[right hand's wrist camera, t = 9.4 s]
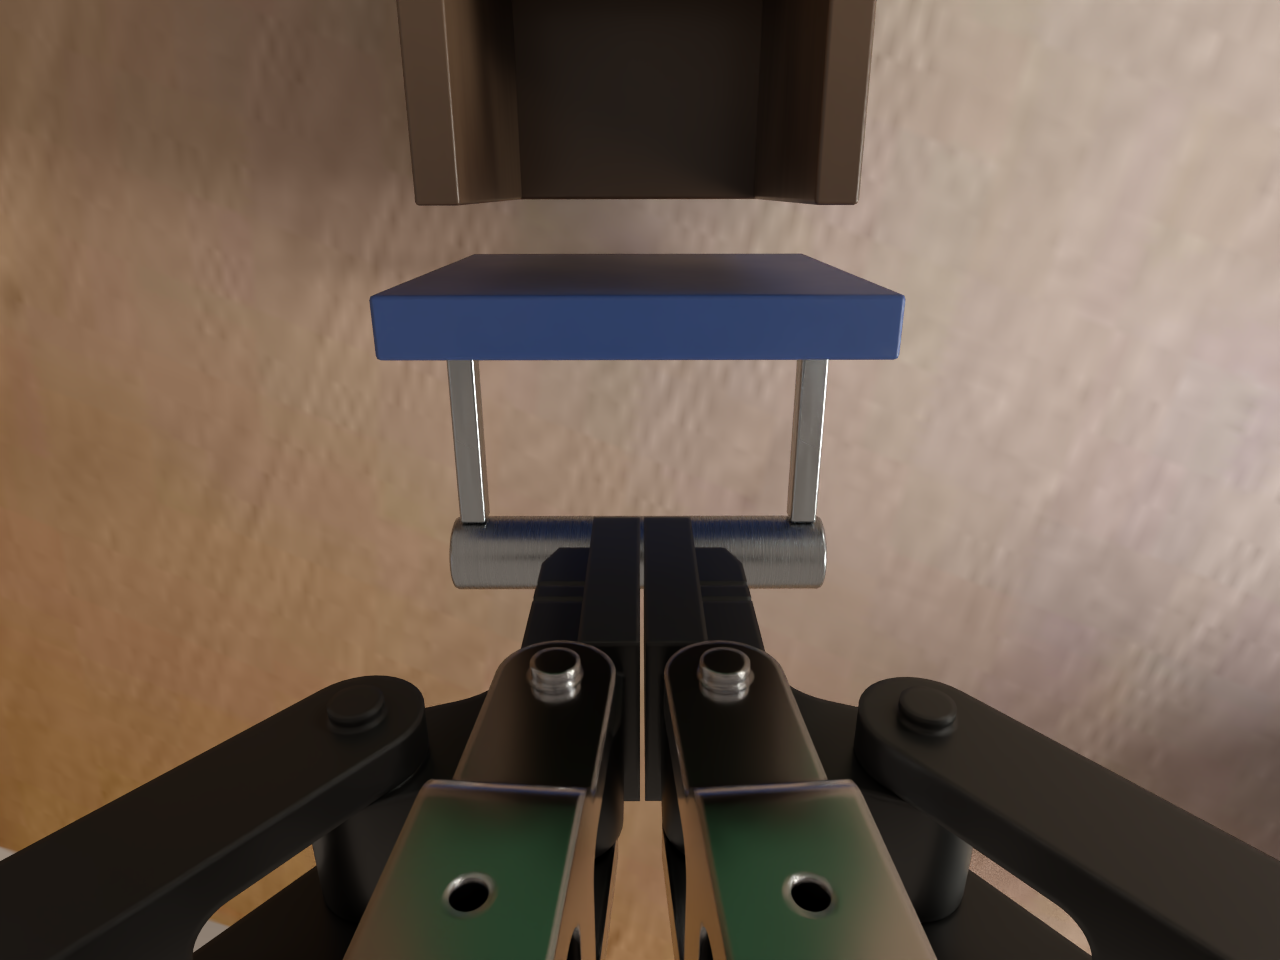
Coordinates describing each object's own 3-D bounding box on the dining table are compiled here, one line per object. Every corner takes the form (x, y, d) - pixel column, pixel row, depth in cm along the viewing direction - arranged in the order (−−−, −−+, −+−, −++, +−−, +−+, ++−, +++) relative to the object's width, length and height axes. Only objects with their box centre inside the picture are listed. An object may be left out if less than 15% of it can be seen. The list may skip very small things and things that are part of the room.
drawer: (788, 485, 26) (867, 643, 17) (488, 485, 26) (408, 644, 17) (861, -579, 17) (1101, -1409, 8) (411, -579, 17) (164, -1411, 8)
